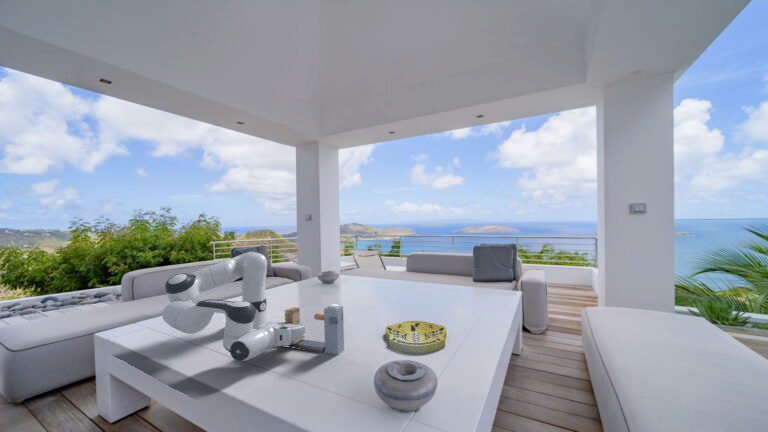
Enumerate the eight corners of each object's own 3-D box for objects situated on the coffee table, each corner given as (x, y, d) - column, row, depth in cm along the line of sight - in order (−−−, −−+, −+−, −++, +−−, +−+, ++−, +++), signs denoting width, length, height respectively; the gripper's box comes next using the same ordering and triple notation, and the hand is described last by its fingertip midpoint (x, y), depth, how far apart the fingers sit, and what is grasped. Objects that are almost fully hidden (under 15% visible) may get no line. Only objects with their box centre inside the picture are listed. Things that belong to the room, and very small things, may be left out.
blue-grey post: (325, 353, 119) (323, 306, 119) (331, 348, 124) (330, 303, 124) (337, 355, 117) (336, 307, 117) (344, 349, 121) (342, 304, 122)
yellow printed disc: (380, 345, 118) (387, 320, 148) (381, 353, 118) (387, 327, 148) (451, 346, 115) (443, 321, 145) (451, 354, 115) (443, 327, 145)
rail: (276, 345, 128) (275, 336, 128) (283, 341, 133) (283, 332, 133) (322, 352, 119) (322, 342, 119) (329, 347, 124) (329, 338, 124)
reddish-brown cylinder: (314, 320, 123) (314, 314, 123) (317, 318, 125) (317, 312, 125) (325, 321, 121) (325, 315, 121) (328, 319, 123) (328, 313, 123)
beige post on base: (280, 342, 126) (280, 310, 126) (291, 336, 132) (290, 306, 133) (294, 344, 123) (293, 311, 124) (304, 337, 130) (303, 307, 130)
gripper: (251, 340, 120) (275, 328, 133) (291, 346, 112) (313, 333, 125) (250, 324, 120) (274, 314, 133) (291, 329, 112) (312, 318, 125)
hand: (293, 323), depth 129 cm, fingers open, 7 cm apart
